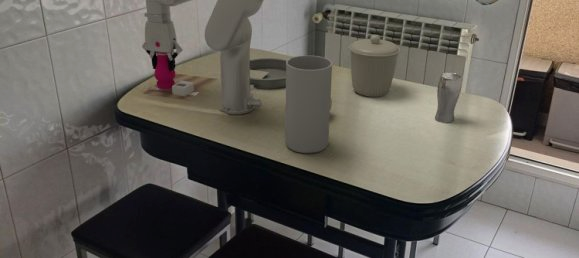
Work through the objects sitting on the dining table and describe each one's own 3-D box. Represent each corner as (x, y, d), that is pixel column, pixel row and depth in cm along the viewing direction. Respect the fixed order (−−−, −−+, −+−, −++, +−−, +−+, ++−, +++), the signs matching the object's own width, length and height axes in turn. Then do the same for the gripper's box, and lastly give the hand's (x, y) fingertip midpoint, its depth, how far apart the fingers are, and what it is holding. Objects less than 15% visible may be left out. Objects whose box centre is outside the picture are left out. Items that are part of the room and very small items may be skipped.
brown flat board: (217, 82, 202) (217, 78, 201) (189, 104, 183) (189, 100, 182) (174, 76, 207) (174, 73, 206) (143, 97, 188) (142, 93, 187)
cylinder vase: (329, 136, 162) (333, 56, 151) (326, 156, 151) (330, 71, 140) (288, 133, 164) (289, 54, 153) (282, 152, 152) (282, 68, 142)
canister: (335, 90, 196) (338, 33, 187) (368, 79, 207) (372, 25, 198) (373, 105, 184) (378, 45, 175) (406, 92, 195) (412, 36, 186)
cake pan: (255, 64, 222) (255, 54, 220) (310, 74, 212) (310, 63, 210) (222, 83, 202) (222, 72, 200) (281, 95, 192) (281, 83, 190)
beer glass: (440, 124, 171) (446, 80, 164) (429, 116, 177) (435, 72, 170) (459, 122, 172) (467, 78, 166) (448, 114, 178) (455, 71, 172)
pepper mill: (178, 83, 193) (174, 28, 184) (172, 90, 186) (168, 33, 178) (159, 82, 194) (154, 27, 185) (152, 89, 187) (147, 32, 179)
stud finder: (194, 90, 190) (193, 82, 189) (185, 96, 185) (184, 88, 184) (181, 88, 192) (181, 80, 191) (172, 94, 187) (171, 85, 185)
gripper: (130, 17, 179) (136, 69, 187) (176, 22, 174) (180, 75, 182) (142, 12, 185) (148, 63, 193) (187, 17, 180) (191, 68, 188)
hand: (164, 68), depth 187 cm, fingers closed on pepper mill, 5 cm apart
